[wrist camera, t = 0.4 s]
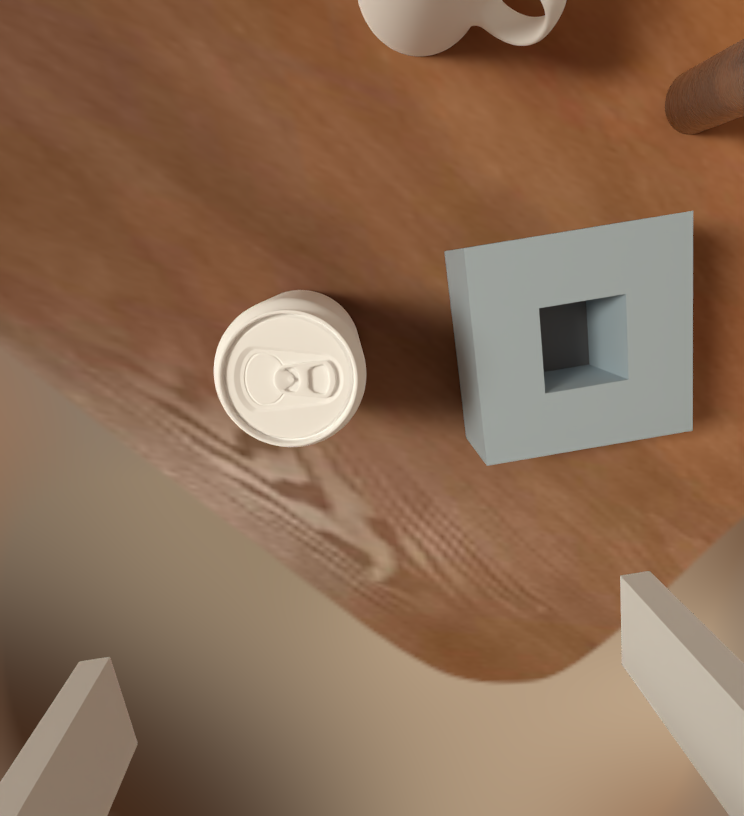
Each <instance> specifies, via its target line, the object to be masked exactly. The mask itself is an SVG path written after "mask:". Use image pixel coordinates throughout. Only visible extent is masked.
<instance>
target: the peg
mask: <svg viewBox="0 0 744 816" xmlns="http://www.w3.org/2000/svg"><path fill="white" fill-rule="evenodd" d="M665 112H666V116H667V119H668V121H669V123H670V124H671V126H672V127H673V128H674V129H675V130H677V131H679V132H681V133H683V134H696V133H699V132H702V131H705V130H707V129H710V128H713V127H715V126H718V125H721V124H723V123H726V122H729V121H732V120H734V119H737V118H740V117H742V116H744V39H742V40H741V41H739V42H737V43H735V44H733V45H732V46H730V47H728V48H726V49H725V50H723V51H721V52H719V53H718V54H716V55H714V56H712V57H710V58H709V59H707V60H705V61H703V62H702V63H700V64H698V65H696V66H695V67H693V68H691V69H689V70H687V71H686V72H684V73H682V74H681V75H680V76H678V77H677V78H676V79H675V81H674V82H673V83H672V85H671V86H670V88H669V90H668V93H667V96H666V101H665Z"/></svg>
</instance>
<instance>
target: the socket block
mask: <svg viewBox="0 0 744 816" xmlns="http://www.w3.org/2000/svg"><path fill="white" fill-rule="evenodd" d="M444 252H445V260H446V269H447V277H448V286H449V294H450V303H451V312H452V320H453V329H454V337H455V346H456V355H457V363H458V372H459V380H460V389H461V397H462V406H463V415H464V423H465V432H466V438H467V439H468V441H469V442H470V444H471V445H472V446H473V448H474V449H475V450H476V452H477V453H478V454H479V456H480V457H481V458H482V460H483V461H484V462H485V464H486V465H487V466H488V465H494V464H500V463H506V462H511V461H517V460H523V459H529V458H535V457H541V456H547V455H552V454H558V453H564V452H570V451H576V450H582V449H588V448H593V447H599V446H605V445H611V444H617V443H623V442H629V441H634V440H640V439H646V438H652V437H658V436H664V435H670V434H675V433H681V432H687V431H693V211H689V212H683V213H677V214H670V215H664V216H658V217H652V218H645V219H639V220H633V221H627V222H621V223H615V224H609V225H602V226H596V227H590V228H584V229H578V230H572V231H566V232H560V233H553V234H547V235H541V236H535V237H529V238H523V239H517V240H511V241H504V242H498V243H492V244H486V245H480V246H474V247H468V248H462V249H456V250H449V251H444Z"/></svg>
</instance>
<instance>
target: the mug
mask: <svg viewBox="0 0 744 816" xmlns="http://www.w3.org/2000/svg"><path fill="white" fill-rule="evenodd" d="M540 1H541V3H542V5H543V7H544V11H545V15H544V16H540V17H530V16H526V15H523V14H520V13H518V12H516V11H514V10H513V9H511V8H510V7H508V6H507V5H506V4H505V3H504V2H503V1H502V0H358V2H359V6H360V9H361V12H362V14H363V17H364V19H365V21H366V23H367V24H368V26H369V27H370V29H371V30H372V32H373V33H374V34H375V35H376V36H377V37H378V38H379V39H380V40H381V41H382V42H383V43H384V44H385V45H387V46H388V47H390V48H391V49H393V50H395V51H397V52H400V53H402V54H406V55H410V56H430V55H434V54H438V53H440V52H443V51H445V50H447V49H448V48H450V47H452V46H453V45H454V44H456V43H457V42H458V41H459V40H460V39H461V38H462V37H463V36H464V35H465V34H466V33H467V31H468V30H469V29H470V27H471V26H479V27H482V28H483V29H485V30H486V31H487V32H489V33H490V34H491V35H493V36H494V37H496V38H498V39H500V40H502V41H504V42H506V43H509V44H512V45H517V46H528V45H532V44H535V43H537V42H539V41H540V40H542V39H543V38H544V37H546V36H547V35H548V34H549V32H550V31H551V30H552V29H553V27H554V26H555V25H556V23H557V21H558V20H559V18H560V16H561V14H562V12H563V10H564V7H565V5H566V1H567V0H540Z"/></svg>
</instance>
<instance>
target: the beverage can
mask: <svg viewBox="0 0 744 816" xmlns="http://www.w3.org/2000/svg"><path fill="white" fill-rule="evenodd" d="M214 381H215V386H216V390H217V394H218V397H219V399H220V401H221V403H222V405H223V407H224V409H225V411H226V412H227V414H228V415H229V416H230V418H231V419H232V420H233V421H234V422H235V423H236V424H237V425H238V426H239V427H240V428H241V429H242V430H244V431H245V432H246V433H248V434H249V435H251V436H252V437H254V438H256V439H258V440H260V441H263V442H265V443H268V444H272V445H276V446H282V447H301V446H307V445H312V444H315V443H318V442H321V441H323V440H325V439H327V438H329V437H331V436H332V435H334V434H335V433H337V432H338V431H339V430H341V429H342V428H343V427H344V426H345V425H346V424H347V423H348V422H349V421H350V419H351V418H352V417H353V415H354V414H355V412H356V411H357V409H358V407H359V405H360V403H361V400H362V397H363V394H364V390H365V385H366V363H365V358H364V354H363V350H362V347H361V343H360V340H359V336H358V332H357V329H356V327H355V324H354V322H353V320H352V319H351V317H350V316H349V314H348V313H347V312H346V310H345V309H344V308H343V307H342V306H341V305H340V304H338V303H337V302H336V301H334V300H333V299H331V298H330V297H328V296H326V295H324V294H321V293H318V292H314V291H308V290H294V291H288V292H284V293H281V294H279V295H277V296H274V297H272V298H270V299H268V300H266V301H263V302H261V303H259V304H257V305H255V306H253V307H251V308H249V309H248V310H246V311H245V312H243V313H242V314H241V315H239V316H238V317H237V318H236V319H235V320H234V321H233V322H232V323H231V324H230V326H229V327H228V328H227V330H226V331H225V333H224V334H223V336H222V338H221V340H220V343H219V345H218V348H217V351H216V355H215V361H214Z"/></svg>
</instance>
